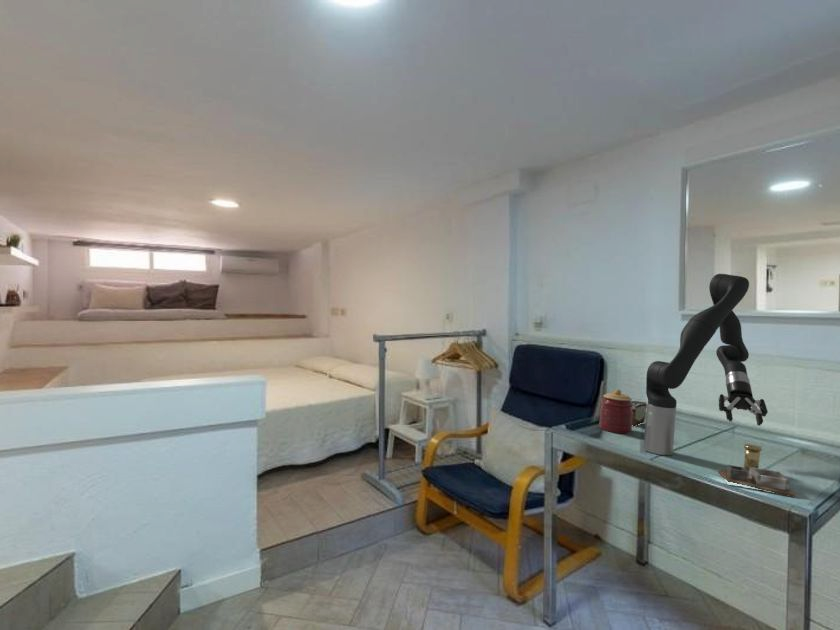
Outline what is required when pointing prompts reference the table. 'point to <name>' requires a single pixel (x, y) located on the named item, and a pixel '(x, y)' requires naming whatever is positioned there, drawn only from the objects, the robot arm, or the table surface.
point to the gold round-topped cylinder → (751, 456)
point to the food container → (638, 412)
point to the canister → (616, 413)
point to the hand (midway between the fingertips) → (745, 422)
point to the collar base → (758, 479)
